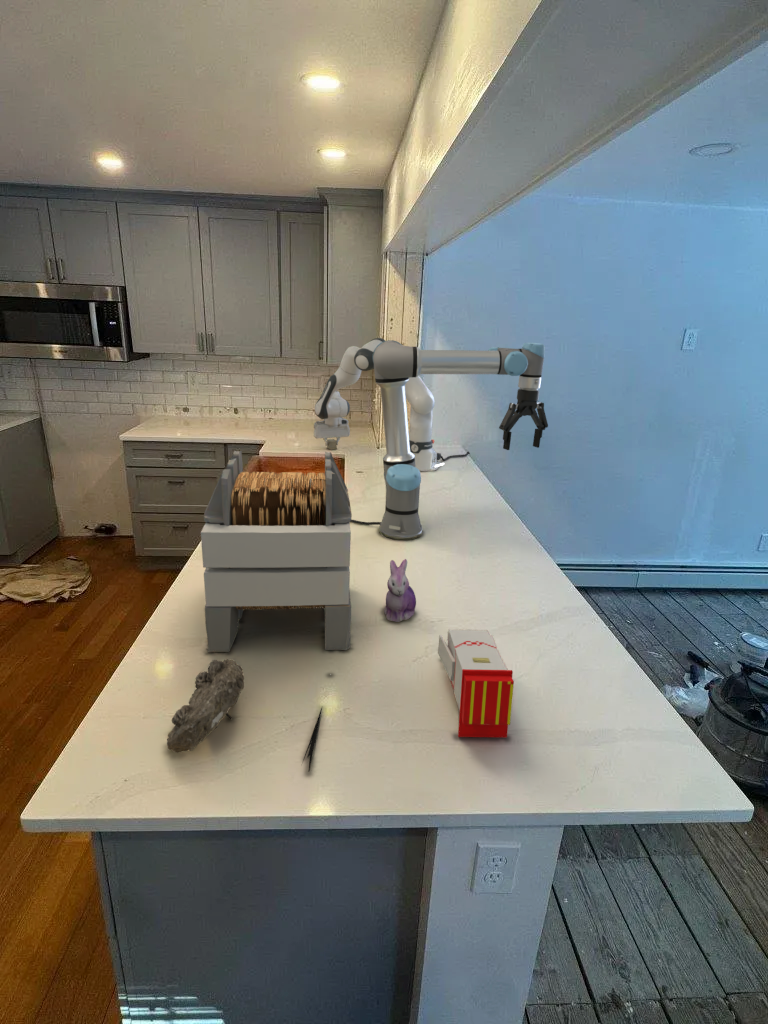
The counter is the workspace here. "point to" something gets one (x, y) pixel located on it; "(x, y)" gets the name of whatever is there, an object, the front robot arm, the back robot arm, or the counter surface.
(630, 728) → the counter surface
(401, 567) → the figurine
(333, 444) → the metal block
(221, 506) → the record storage crate
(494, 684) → the toy
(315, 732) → the feather
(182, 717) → the fossil
